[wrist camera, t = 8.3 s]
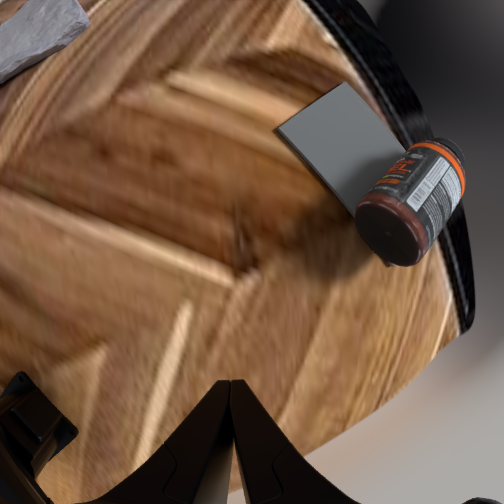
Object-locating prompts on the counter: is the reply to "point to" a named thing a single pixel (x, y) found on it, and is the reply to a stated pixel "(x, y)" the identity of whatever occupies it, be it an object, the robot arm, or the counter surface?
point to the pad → (344, 144)
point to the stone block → (38, 33)
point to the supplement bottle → (412, 201)
